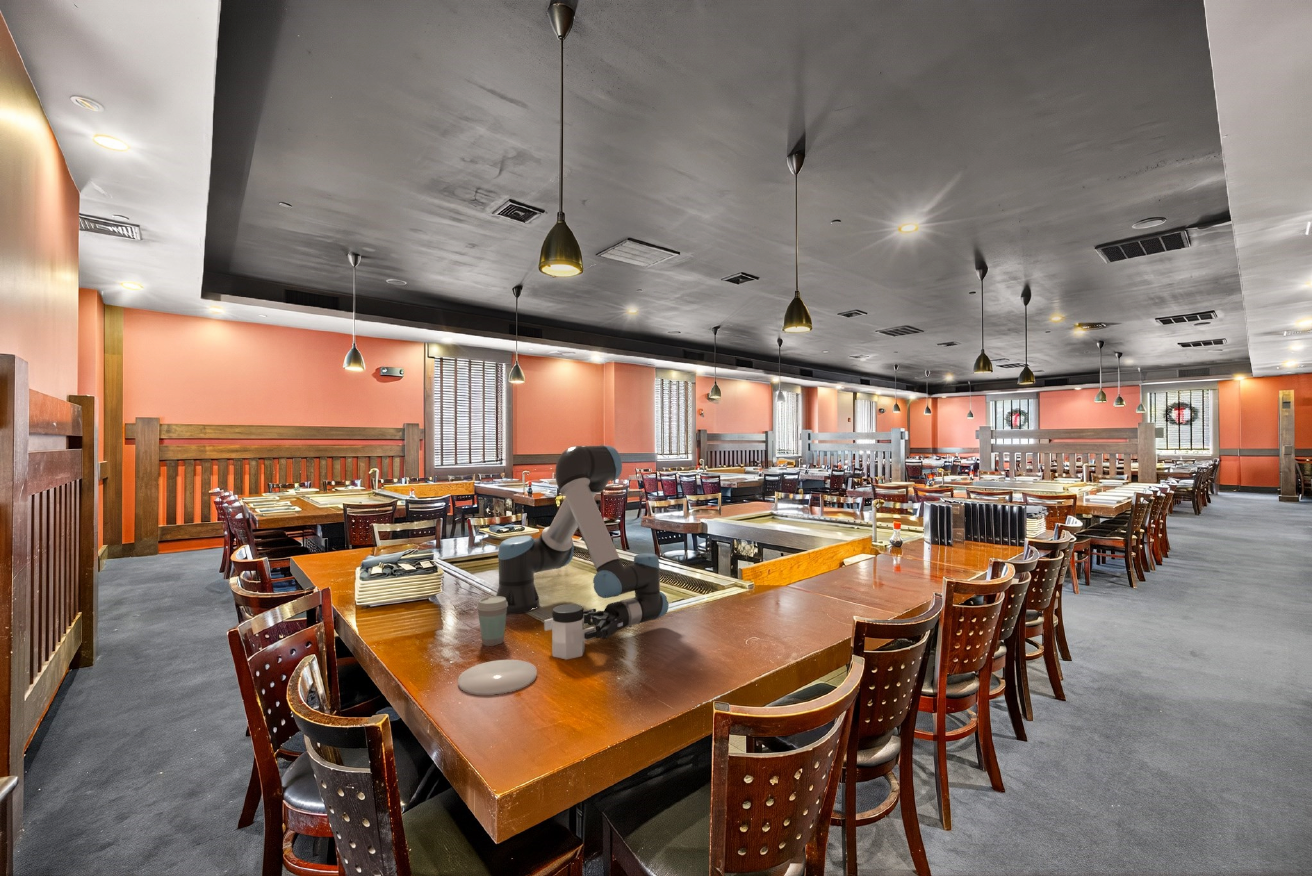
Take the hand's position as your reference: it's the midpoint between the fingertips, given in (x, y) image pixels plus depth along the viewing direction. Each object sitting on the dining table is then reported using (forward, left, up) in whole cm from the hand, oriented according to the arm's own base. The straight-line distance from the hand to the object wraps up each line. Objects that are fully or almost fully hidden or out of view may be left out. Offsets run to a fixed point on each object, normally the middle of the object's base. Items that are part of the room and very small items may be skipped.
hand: (558, 631), depth 149 cm
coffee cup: (-22, -8, -7) cm, 24 cm away
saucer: (+2, -18, -6) cm, 19 cm away
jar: (0, +3, -7) cm, 7 cm away
